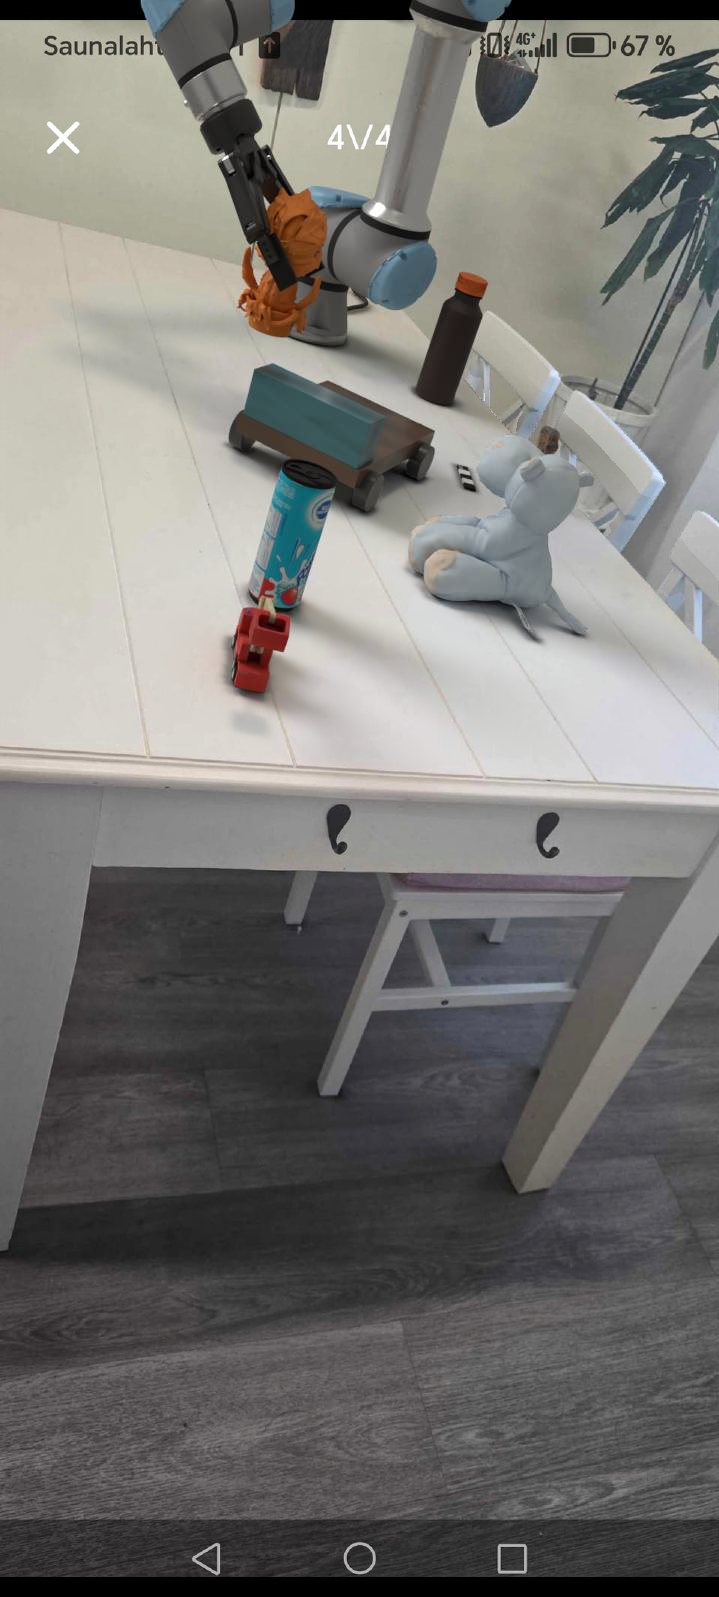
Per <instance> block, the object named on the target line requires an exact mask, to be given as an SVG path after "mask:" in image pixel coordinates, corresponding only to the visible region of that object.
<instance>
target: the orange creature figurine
mask: <svg viewBox="0 0 719 1597" xmlns="http://www.w3.org/2000/svg"><path fill="white" fill-rule="evenodd" d="M308 188H309V187H307V188H306V189H304V190H302V191H301V192H295V194H294V195H293V196H289V195H288V194H287V193H286V191H285V189H284V188H281V189H280V191H279V195H278V196H277V197H276V198H275V201H274V202H272V203H271V204H269V205H268V206H267V207H266V211H267V215H268V219H269V223H270V227H271V233H270V234H272V233H274V232H276V234H277V236H278V238H279V240H280V242H281V244H282V247H283V249H284V251H285V253H286V255H287V257H288V259H289V261H290V263H291V266H292V268H293V270H294V272H295V274H296V276H297V277H300V276H305V274H307V273H309V272H311V271H312V270H314V269H315V268H316V269H318V268H319V265H320V262H321V259H322V256H323V253H322V248H321V247H324V245H325V241H326V238H327V237H326V235H327V229H328V228H327V218H326V217H324V216H325V212H322V211H321V210H320V209H319V208H318V204H316V203H315V202H314V201H313V200H312V199H311V193H310V191H309V189H308ZM270 234H269V235H270ZM254 249H255V251H256V253H257V257H258V258H260V259H261V260H262V261H263V263H264V266H265V267H266V268H268V266H267V264H266V262H265V260H264V258H263V256H262V254H261V252H260V250H259V247H258V245H257V244H256V245H255V246H254ZM251 260H252V247H251V245H249V246H247V247H246V249H245V250H244V253H243V258H242V264H241V278H242V279H243V281H244V283H245V284H246V286H247V287H248V288H245V289H243V292H242V293H241V294H240V295H239V298H238V300H237V303H238V306H236V308H237V309H241V311H243V312H244V313H245V314H244V317H243V318H247V317H248V319H247V324H248V326H249V327H250V328H252V329H253V330H255V331H256V332H259V333H261V334H263V335H266V336H270V337H273V338H281V339H282V338H284V339H285V338H289V337H290V336H289V335H290V333H291V331H292V329H293V327H294V325H295V323H296V325H297V330H296V331H297V333H302V331H305V324H306V321H305V320H306V316H307V313H306V310H304V308H307V307H308V306H309V305H310V304H312V303H313V302H315V301H316V300H317V297H318V294H319V288H320V284H321V279H322V277H321V275H320V276H317V277H316V279H315V282H314V285H313V287H312V291H311V292H310V293H309V294H308V295H307V296H306V297H305V298H303V299H302V300H301V301H300V302H299V303H295V301H296V300H297V297H296V293H297V290H298V284H297V283H296V284H294V285H292V286H290V287H288V288H286V289H285V290H283V291H281V292H280V291H279V289H278V287H277V285H276V283H275V281H274V279H273V277H272V274H271V272H270V270H269V269H267V270H266V271H265V272H264V273H263V274H262V276H261V278H260V281H259V284H258V281H257V279H256V277H255V273H254V267H253V265H252V262H251ZM244 304H245V306H244V307H245V308H244V307H243V306H242V305H244Z"/></svg>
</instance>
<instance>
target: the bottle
mask: <svg viewBox="0 0 719 1597" xmlns="http://www.w3.org/2000/svg"><path fill="white" fill-rule="evenodd" d="M488 286H489V282H488V280H487V279H485V278H483V277H482V276H480V275H477V274H474V273H472V272H468V271H460V272H459V273H458V276H457V279H456V282H455V284H454V294H453V295H451V296H450V297H449V298H447V299H445V300H444V301H443V303H442V305H441V309H440V312H439V315H438V318H437V321H436V324H435V326H434V329H433V333H432V336H431V339H430V342H429V345H428V348H427V350H426V353H425V356H424V361H423V363H422V366H421V370H420V372H419V375H418V378H417V382H416V385H415V388H414V390H415V393H416V394H417V395H418V396H419V397H420V398H422V399H423V400H426V401H428V402H431V403H433V404H437V405H441V406H449V405H452V404H453V402H454V401H455V398H456V394H457V391H458V390H459V386H460V383H461V380H462V378H463V376H464V371H465V369H466V366H467V363H468V360H469V357H470V354H471V351H472V349H473V345H474V344H475V340H476V337H477V334H478V331H479V328H480V326H481V323H482V320H483V317H484V316H483V311H482V309H481V307H480V302H481V301H482V300H483V297H484V296H485V294H486V291H487V288H488Z"/></svg>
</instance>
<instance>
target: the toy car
mask: <svg viewBox="0 0 719 1597" xmlns="http://www.w3.org/2000/svg"><path fill="white" fill-rule="evenodd" d="M243 408H244V409H241V410H240V411H239V412H238V413H237V414H236V415H235V417H234V419H233V421H232V423H231V425H230V428H229V431H228V436H227V437H228V438H227V439H228V443H229V445H230V446H232V447H234V448H236V449H239V450H241V451H243V452H247V451H249V450H250V449H251V448H252V447H253V446H254V444H255V443H256V442H258V443H260V444H261V445H264V446H265V447H268V448H270V449H272V450H274V451H276V452H278V453H280V454H282V455H284V456H286V457H289V458H290V459H300V460H306V461H310V462H313V463H316V464H318V465H321V466H323V467H325V468H326V469H328V470H330V471H331V472H332V473H333V474H334V475H335V476H336V478H337V482H339V483H341V484H344V485H346V486H347V487H350V488H351V489H354V490H353V493H352V497H351V503H352V505H353V506H355V507H356V508H358V509H361V510H362V511H364V512H370V511H371V510H372V509H373V508H374V506H375V505H376V504H377V502H378V500H379V498H380V496H381V494H382V491H383V488H384V484H385V477H384V475H383V474H384V473H385V472H387V471H389V470H391V469H393V468H395V467H396V466H398V465H400V464H402V463H403V462H405V461H407V462H406V465H405V475H407V476H408V477H411V478H413V479H415V480H417V481H421V480H422V479H424V477H425V476H426V475H427V473H428V472H429V469H430V468H431V465H432V463H433V460H434V458H435V453H436V449H435V446H432V443H433V439H434V437H435V433H436V430H434V429H432V428H430V427H428V426H426V425H424V424H422V423H419V422H418V421H415V420H414V419H411V418H409V417H407V416H405V415H403V414H400V413H398V412H397V411H394V410H392V409H390V408H388V407H386V406H385V405H382V404H380V403H377V402H375V401H373V400H371V399H369V398H367V397H365V396H362V395H360V394H358V393H357V392H353V391H351V390H349V389H347V388H345V387H343V386H342V385H339V384H337V383H335V382H333V381H330V380H328V379H327V380H324V381H322V382H319V383H316V382H314V381H312V380H309V379H307V378H306V377H303V376H301V375H299V374H297V373H295V372H293V371H291V370H289V369H287V368H284V367H282V366H280V365H278V364H276V363H273V362H271V363H268V364H266V365H263V366H259V367H256V368H254V369H253V372H252V376H251V380H250V384H249V388H248V392H247V397H246V400H245V405H244V407H243Z"/></svg>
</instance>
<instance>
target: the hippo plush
mask: <svg viewBox="0 0 719 1597" xmlns="http://www.w3.org/2000/svg"><path fill="white" fill-rule="evenodd" d="M476 473H477V477H478V480H479V482H480V483H481V484H482V485H484V486H485V488H486V489H487V490H488V491H489V492H490V493H492V494H493V495H494V496H496V497H498V498H501V499H504V503H505V505H506V506H505V507H504V508H502V509H501V510H500V511H499V513H497V515H488V516H486V517H482V518H478V517H476V516H473V515H468V514H458V515H457V514H455V515H445V516H442V515H439V514H438V515H437V516H433V517H431V518H429V519H426V521H425V522H424V523H423V524H419V525H416V526H415V527H414V528H413V529H412V530H411V533H410V537H409V542H408V547H407V557H408V561H409V564H410V565H411V567H412V568H413V570H414V571H416V572H417V573H419V574H421V575H423V582H424V584H425V587H426V589H427V590H428V591H429V593H430V594H431V595H433V596H436V597H437V598H441V599H443V600H446V601H449V602H450V601H451V602H470V601H480V602H487V601H489V602H490V601H491V602H493V601H498V602H500V603H502V604H505V605H509V606H512V607H514V608H516V611H517V614H518V616H519V618H520V621H521V622H522V625H523V627H524V628H525V629H526V630H527V631H528V632H529V634H531V635H532V636H533V637H534V639H536V640H537V639H539V638H538V636H537V634H536V632H535V631H534V629H532V628H531V626H530V623H529V622H528V620H527V618H526V616H525V615H524V612H523V610H522V608H535V607H539V606H540V605H543V604H545V605H547V607H549V608H550V609H551V611H553V612H554V613H555V614H556V615H557V616H558V617H559V618H560V619H561V620H562V621H563V622H564V623H566V624H567V626H568V627H569V628H571V629H572V630H573V631H574V632H575V633H576V634H578V635H585V634H586V633H587V631H588V630H589V628H588V627H587V626H586V625H585V624H584V623H582V622H581V621H580V620H579V619H578V618H577V617H576V616H575V615H574V614H572V612H570V611H569V610H568V609H567V608H566V607H565V604H564V603H563V602H562V600H561V598H560V597H559V596H560V595H559V594H558V592H557V591H556V589H555V588H554V587H553V586H552V582H553V563H552V562H553V561H552V555H551V552H550V548H549V534H550V533H552V532H553V531H555V529H558V527H559V526H560V525H562V523H563V522H564V521H565V520H566V519H567V518H568V517H569V515H570V514H571V513H572V512H573V510H574V509H575V507H576V504H577V503H578V500H579V495H580V492H581V488H587V487H592V486H593V485H594V483H595V476H594V474H593V473H592V472H590V471H588V470H585V471H581V472H578V469H577V468H576V466H575V465H574V464H572V463H571V462H570V461H568V460H566V459H564V458H563V457H561V456H559V455H555V454H547V455H545V454H544V453H543V452H542V451H541V450H540V449H539V448H537V445H535V444H534V443H533V442H531V441H530V440H528V439H526V438H525V437H522V436H519V435H516V434H506V435H504V436H501V437H500V438H497V439H495V440H493V441H492V442H491V443H490V444H489V445H487V446H486V448H485V450H484V452H483V453H482V456H481V457H480V459H479V461H478V463H477V465H476Z"/></svg>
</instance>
